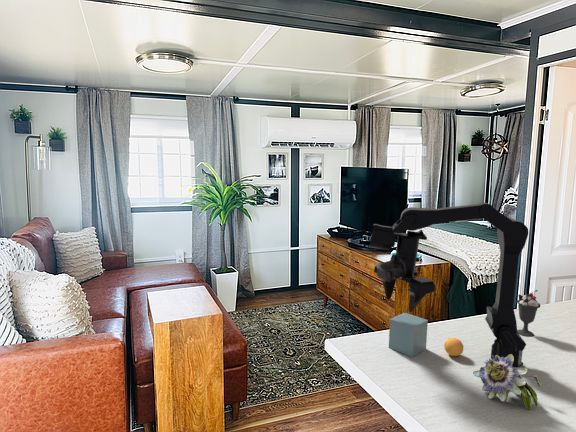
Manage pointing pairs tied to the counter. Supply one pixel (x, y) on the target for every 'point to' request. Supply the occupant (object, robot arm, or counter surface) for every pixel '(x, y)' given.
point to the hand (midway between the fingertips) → (399, 305)
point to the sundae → (527, 312)
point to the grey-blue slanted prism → (408, 334)
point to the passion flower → (506, 380)
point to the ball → (453, 346)
